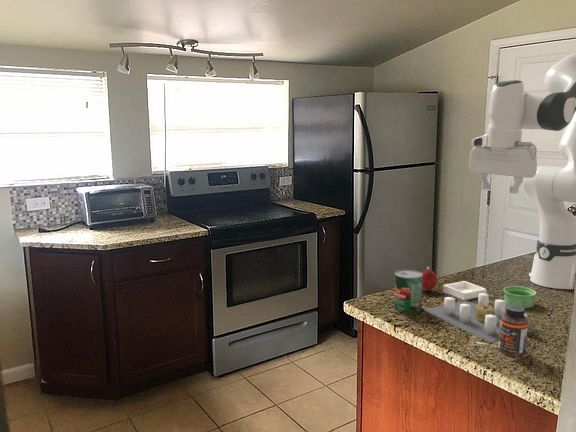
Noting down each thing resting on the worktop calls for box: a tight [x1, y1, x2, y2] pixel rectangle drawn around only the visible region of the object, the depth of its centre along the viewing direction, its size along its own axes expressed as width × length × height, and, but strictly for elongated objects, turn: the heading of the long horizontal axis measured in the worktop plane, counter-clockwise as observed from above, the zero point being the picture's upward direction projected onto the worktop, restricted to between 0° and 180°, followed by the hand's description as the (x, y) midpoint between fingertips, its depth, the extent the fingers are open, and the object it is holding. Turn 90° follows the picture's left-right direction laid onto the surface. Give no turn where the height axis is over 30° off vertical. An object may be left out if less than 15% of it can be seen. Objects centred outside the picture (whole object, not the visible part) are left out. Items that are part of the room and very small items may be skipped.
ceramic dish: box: [442, 280, 487, 301], centre depth 164 cm, size 9×9×2 cm
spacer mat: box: [422, 292, 538, 343], centre depth 143 cm, size 17×25×5 cm
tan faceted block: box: [475, 304, 494, 322], centre depth 143 cm, size 5×4×4 cm
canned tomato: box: [393, 269, 423, 314], centre depth 152 cm, size 8×8×11 cm
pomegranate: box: [421, 266, 438, 292], centre depth 167 cm, size 6×6×8 cm
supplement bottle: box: [498, 305, 529, 358], centre depth 123 cm, size 6×6×11 cm
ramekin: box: [502, 285, 537, 309], centre depth 155 cm, size 9×9×4 cm
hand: (499, 191), depth 145 cm, fingers open, 8 cm apart
